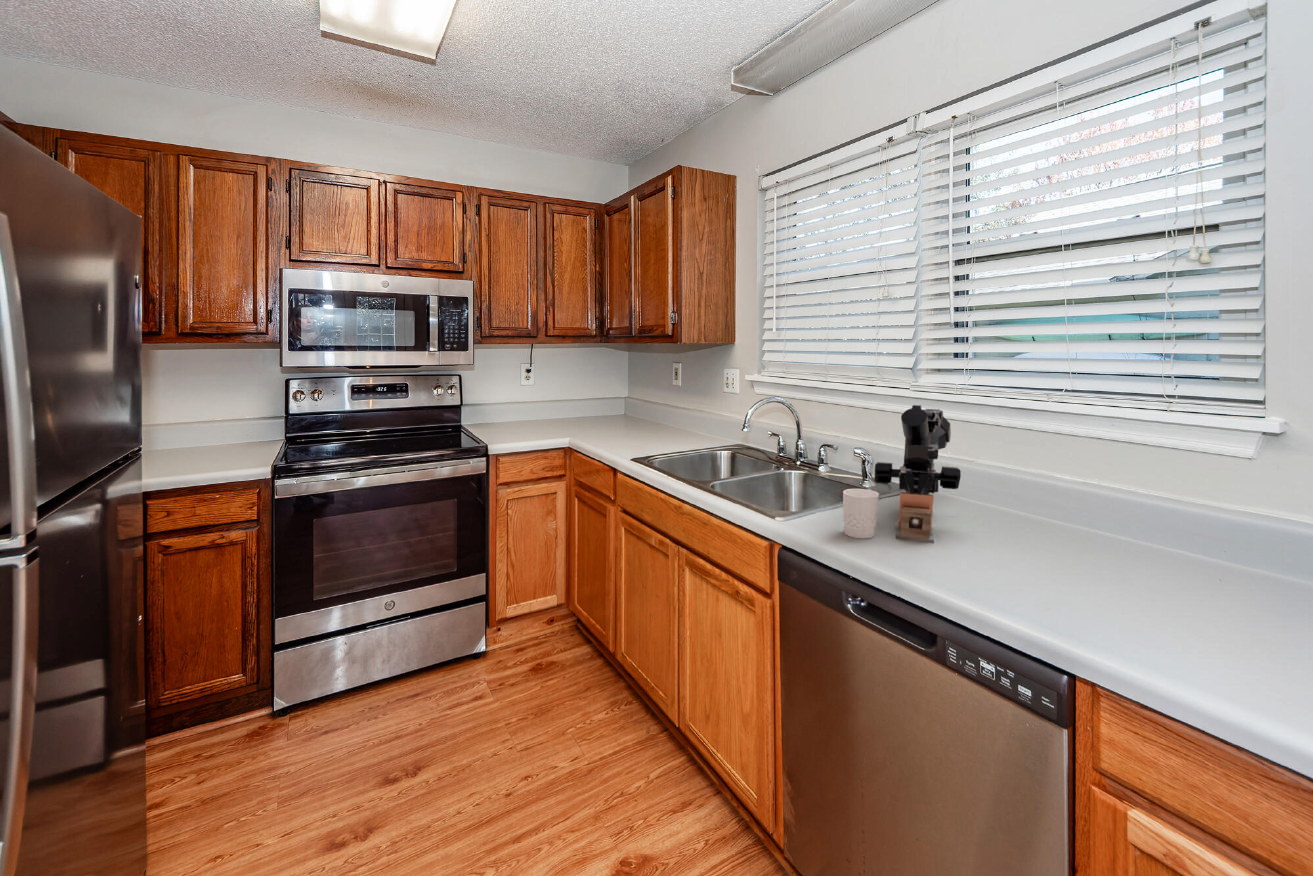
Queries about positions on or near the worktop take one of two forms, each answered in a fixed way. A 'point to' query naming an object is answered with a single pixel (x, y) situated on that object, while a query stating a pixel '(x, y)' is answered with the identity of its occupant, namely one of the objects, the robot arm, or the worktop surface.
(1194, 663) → the worktop surface
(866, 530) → the white cup
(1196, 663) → the worktop surface
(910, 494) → the copper wooden slab
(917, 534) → the bearing block
